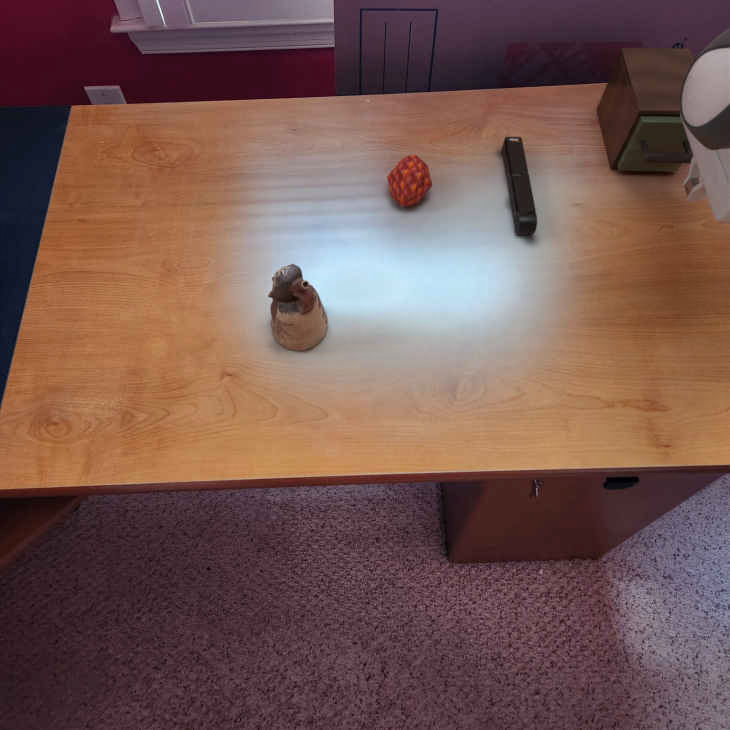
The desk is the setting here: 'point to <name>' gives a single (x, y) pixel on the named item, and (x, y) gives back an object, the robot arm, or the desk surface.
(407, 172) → the decorative stone
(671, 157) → the drawer
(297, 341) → the figurine
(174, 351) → the desk surface
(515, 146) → the black stapler
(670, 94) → the cabinet
